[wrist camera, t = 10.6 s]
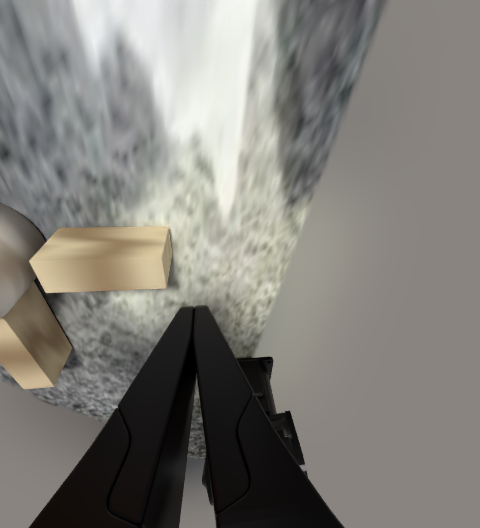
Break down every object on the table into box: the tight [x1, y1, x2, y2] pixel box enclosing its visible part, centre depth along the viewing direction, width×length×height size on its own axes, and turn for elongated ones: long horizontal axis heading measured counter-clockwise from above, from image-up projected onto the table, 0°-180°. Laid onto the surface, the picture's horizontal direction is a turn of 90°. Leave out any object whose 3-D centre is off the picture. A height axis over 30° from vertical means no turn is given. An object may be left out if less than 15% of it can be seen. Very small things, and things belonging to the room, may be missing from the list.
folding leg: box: [29, 227, 172, 293], centre depth 18 cm, size 8×2×4 cm, turn 87°
